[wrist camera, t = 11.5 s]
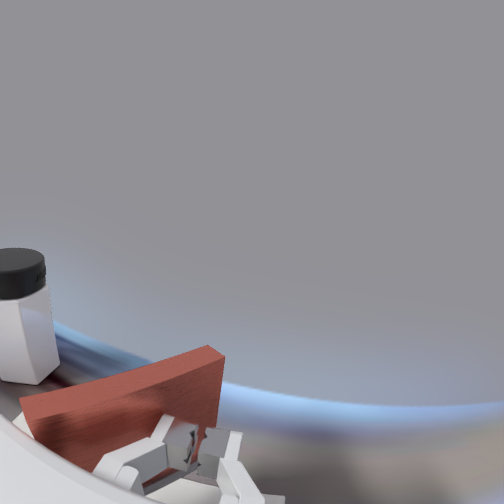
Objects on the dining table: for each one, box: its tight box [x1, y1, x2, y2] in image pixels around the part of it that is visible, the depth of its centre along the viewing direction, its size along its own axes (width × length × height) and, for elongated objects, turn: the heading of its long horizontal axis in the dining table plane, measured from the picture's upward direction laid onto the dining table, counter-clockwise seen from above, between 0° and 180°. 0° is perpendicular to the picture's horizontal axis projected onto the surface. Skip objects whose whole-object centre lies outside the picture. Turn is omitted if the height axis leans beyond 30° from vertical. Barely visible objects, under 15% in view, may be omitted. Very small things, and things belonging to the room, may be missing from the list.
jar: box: [0, 248, 60, 385], centre depth 21 cm, size 9×8×12 cm
